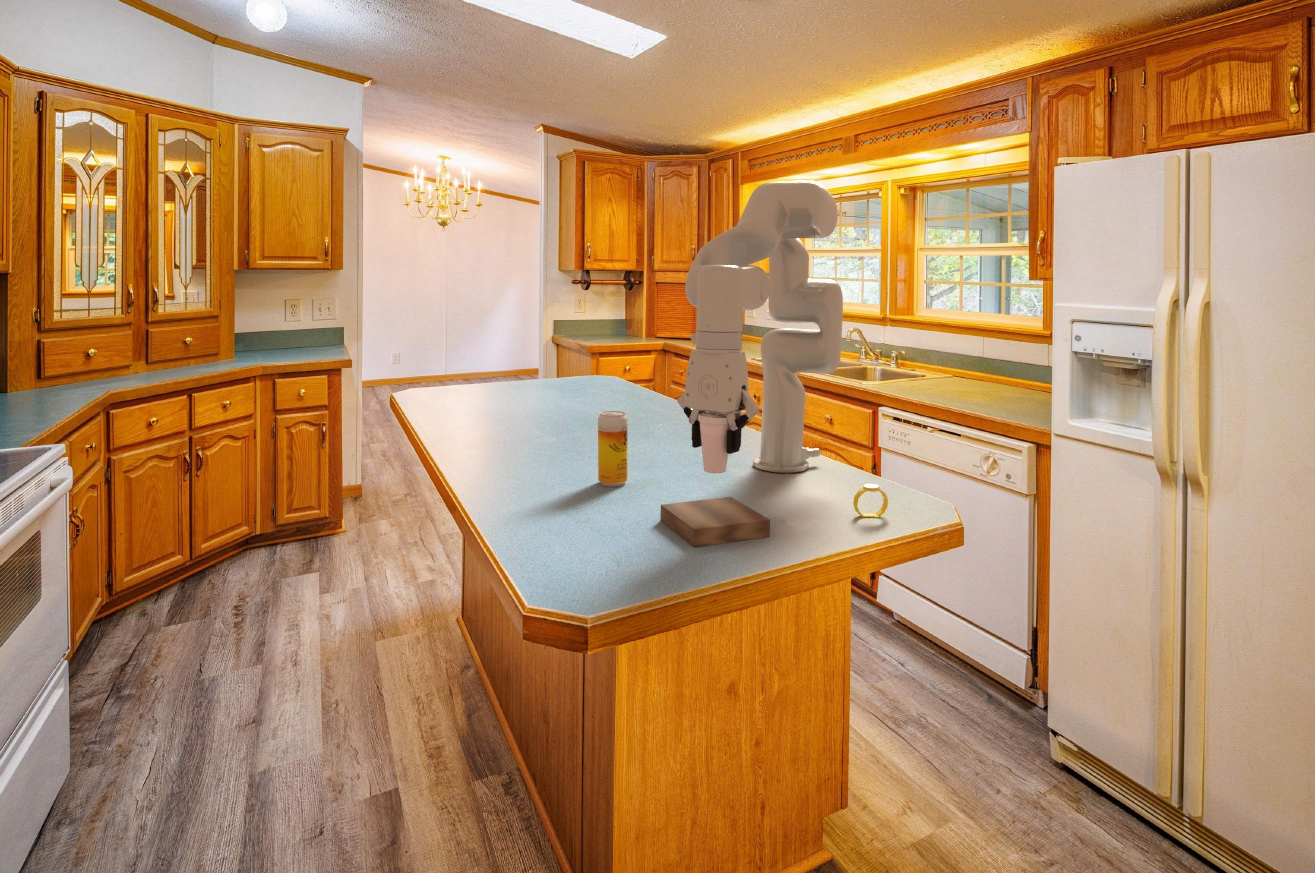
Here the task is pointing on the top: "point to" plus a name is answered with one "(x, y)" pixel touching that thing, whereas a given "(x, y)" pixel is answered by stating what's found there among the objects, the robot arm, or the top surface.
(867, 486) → the watch
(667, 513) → the walnut base
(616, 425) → the beer can
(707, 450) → the smoothie
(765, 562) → the top surface
